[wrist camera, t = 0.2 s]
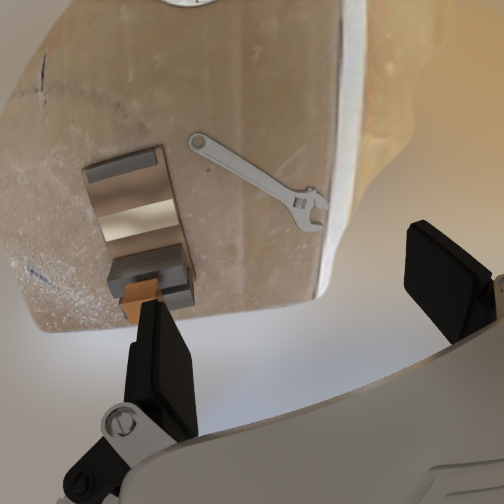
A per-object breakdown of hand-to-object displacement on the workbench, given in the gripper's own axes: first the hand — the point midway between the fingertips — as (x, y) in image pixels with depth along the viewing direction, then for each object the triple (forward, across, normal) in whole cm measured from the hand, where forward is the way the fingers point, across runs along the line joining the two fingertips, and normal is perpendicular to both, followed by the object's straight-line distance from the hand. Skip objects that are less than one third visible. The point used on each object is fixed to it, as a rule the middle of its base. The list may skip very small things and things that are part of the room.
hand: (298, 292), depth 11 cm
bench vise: (+37, +14, +10) cm, 40 cm away
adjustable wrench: (+37, -6, +8) cm, 39 cm away
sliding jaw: (+34, +15, +15) cm, 40 cm away
